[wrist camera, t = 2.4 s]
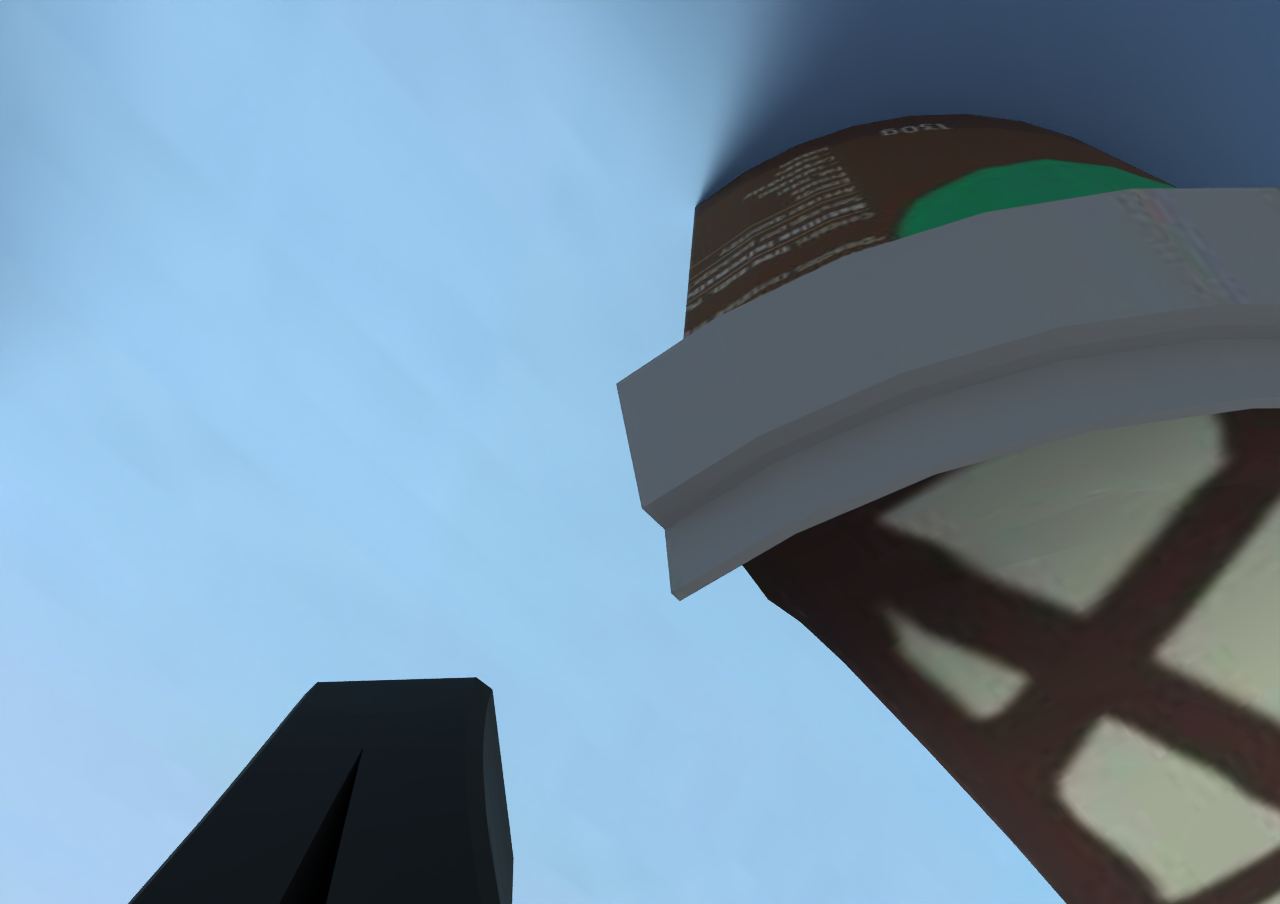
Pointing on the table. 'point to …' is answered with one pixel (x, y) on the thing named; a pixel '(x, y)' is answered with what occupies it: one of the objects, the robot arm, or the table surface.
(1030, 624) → the food container
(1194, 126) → the table surface
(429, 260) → the table surface
